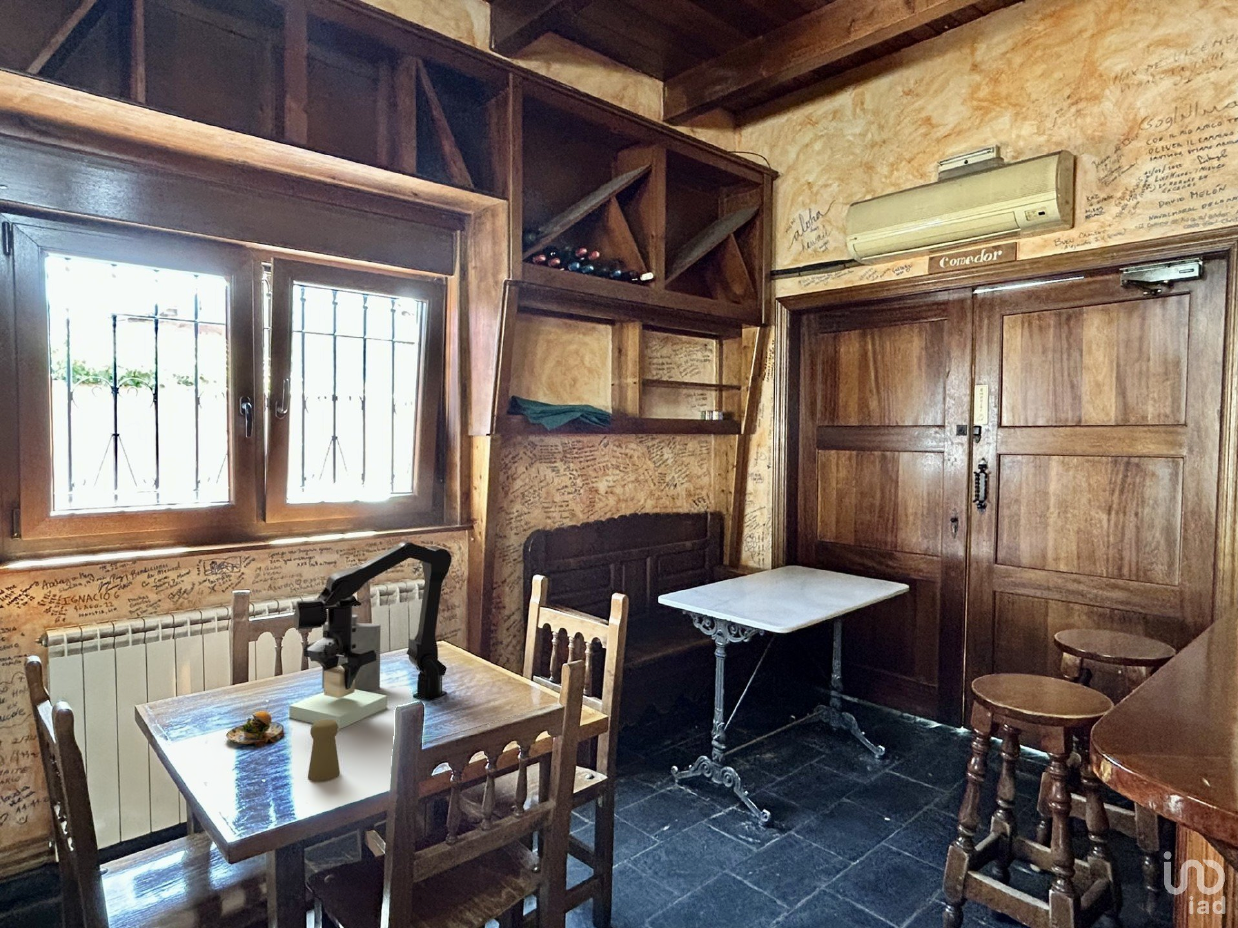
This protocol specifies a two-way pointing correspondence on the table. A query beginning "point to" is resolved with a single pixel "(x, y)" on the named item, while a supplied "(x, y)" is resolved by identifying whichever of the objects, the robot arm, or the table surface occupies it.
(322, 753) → the cork
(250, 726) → the burger
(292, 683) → the table surface
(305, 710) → the plinth
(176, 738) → the table surface
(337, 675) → the birch block
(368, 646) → the hip flask
